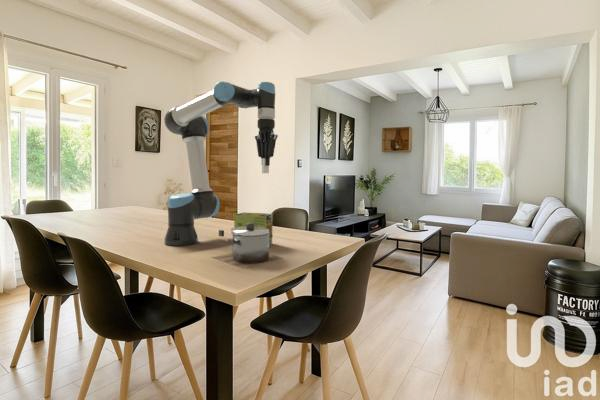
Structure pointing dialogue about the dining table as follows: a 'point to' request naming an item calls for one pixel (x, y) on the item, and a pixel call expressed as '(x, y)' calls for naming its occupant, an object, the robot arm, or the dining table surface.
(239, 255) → the pot
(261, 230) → the lid
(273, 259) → the board
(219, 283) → the dining table surface
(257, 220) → the protein box
